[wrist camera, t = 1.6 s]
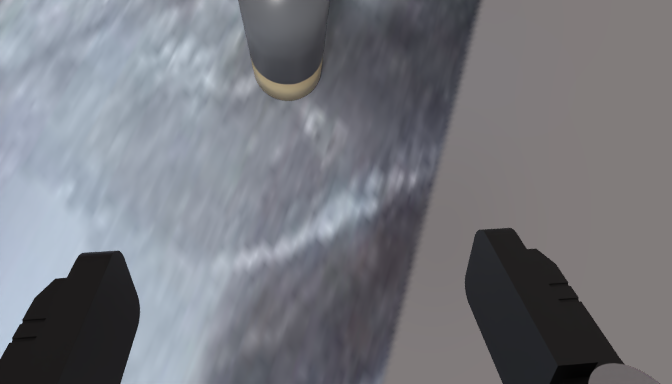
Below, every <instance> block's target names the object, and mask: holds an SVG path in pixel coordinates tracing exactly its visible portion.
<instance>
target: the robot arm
mask: <svg viewBox="0 0 672 384" xmlns="http://www.w3.org/2000/svg"><path fill="white" fill-rule="evenodd" d="M465 290H466V295H467V299H468V303H469V305H470V307H471V310H472V312H473V314H474V317H475V319H476V321H477V324H478V326H479V328H480V331H481V333H482V336H483V338H484V340H485V343H486V345H487V347H488V350H489V352H490V354H491V357H492V359H493V362H494V364H495V366H496V369H497V371H498V373H499V376H500V378H501V380H502V383H503V384H660V383H659V382H658V381H656V380H655V379H654V378H652V377H651V376H649V375H648V374H646V373H644V372H643V371H641V370H638V369H636V368H634V367H631V366H627V365H625V364H624V363H623V362H622V361H621V359H620V358H619V356H618V355H617V354H616V352H615V351H614V349H613V348H612V346H611V345H610V343H609V342H608V340H607V339H606V337H605V336H604V334H603V333H602V332H601V330H600V329H599V327H598V326H597V324H596V323H595V321H594V320H593V318H592V317H591V315H590V314H589V312H588V311H587V309H586V308H585V307H584V305H583V304H582V302H579V300H578V296H577V295H576V293H575V292H574V290H573V289H572V287H571V286H568V281H567V280H566V279H565V277H564V276H563V274H562V273H561V271H560V270H559V268H558V267H557V265H556V264H555V263H554V262H552V261H551V260H550V259H549V258H547V257H546V256H545V255H544V254H542V253H541V252H540V251H538V250H537V249H526V247H525V246H524V244H523V243H522V241H521V239H520V238H519V236H518V235H517V233H516V232H515V231H514V230H513V229H512V228H502V229H487V230H486V229H485V230H478V231H477V232H476V234H475V237H474V242H473V246H472V250H471V255H470V259H469V263H468V267H467V272H466V276H465ZM139 317H140V305H139V299H138V295H137V292H136V290H135V287H134V284H133V281H132V278H131V276H130V273H129V270H128V267H127V264H126V262H125V259H124V256H123V254H122V253H121V252H120V251H106V252H89V253H82V254H80V255H79V256H78V258H77V259H76V261H75V263H74V265H73V267H72V269H71V271H70V273H69V275H68V277H67V278H59V279H55V280H53V281H52V282H51V283H50V284H49V285H48V286H47V287H46V288H45V289H44V290H43V291H42V292H41V293H40V294H38V295H37V296H36V297H35V298H34V300H33V302H32V304H31V305H30V307H29V309H28V311H27V313H26V314H25V316H24V318H23V323H22V324H20V325H19V327H18V329H17V330H16V332H15V334H14V336H13V337H12V339H13V340H12V343H9V345H8V346H7V348H6V350H5V352H4V354H3V355H2V357H1V359H0V384H120V383H121V380H122V376H123V373H124V370H125V367H126V363H127V360H128V357H129V354H130V350H131V347H132V344H133V341H134V337H135V334H136V331H137V327H138V324H139Z"/></svg>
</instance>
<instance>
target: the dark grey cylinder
mask: <svg viewBox="0 0 672 384" xmlns="http://www.w3.org/2000/svg"><path fill="white" fill-rule="evenodd" d="M238 1H239V6H240V11H241V15H242V20H243V24H244V29H245V33H246V38H247V42H248V47H249V52H250V56H251V61H252V65H253V70H254V74H255V78H256V81H257V83H258V84H259V86H260V87H261V89H262V90H263V91H264V92H265V93H267V94H268V95H269V96H271V97H273V98H276V99H279V100H284V101H292V100H297V99H301V98H303V97H305V96H307V95H308V94H309V93H311V92H312V91H313V90H314V88H315V87H316V85H317V84H318V82H319V79H320V75H321V67H322V59H323V51H324V43H325V35H326V27H327V19H328V11H329V3H330V0H238Z"/></svg>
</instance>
